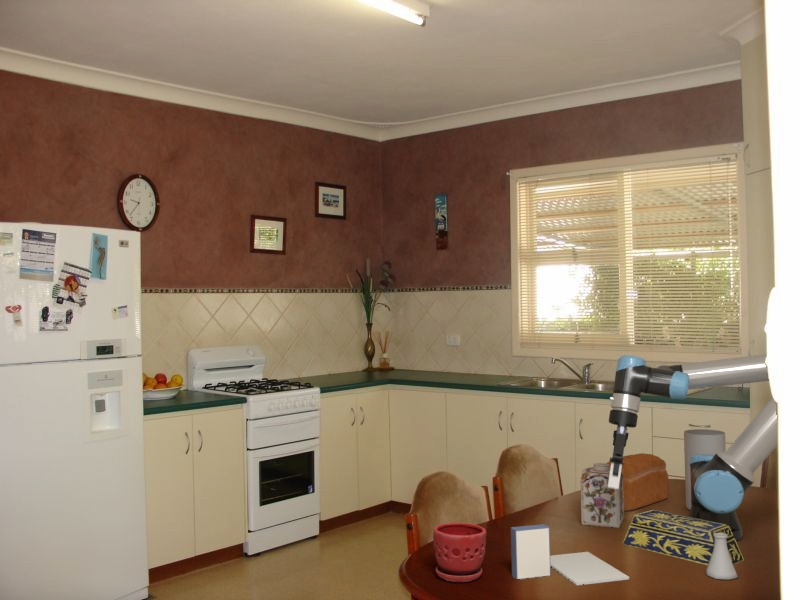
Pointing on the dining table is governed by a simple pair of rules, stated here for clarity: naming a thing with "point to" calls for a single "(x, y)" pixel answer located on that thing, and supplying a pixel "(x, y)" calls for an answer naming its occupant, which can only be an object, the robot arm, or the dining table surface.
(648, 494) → the bread
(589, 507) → the decorative jar
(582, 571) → the mat
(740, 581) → the dining table surface
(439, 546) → the plant pot
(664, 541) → the decorative box
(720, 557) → the flask
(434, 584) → the dining table surface
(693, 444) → the cylinder vase
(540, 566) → the book
